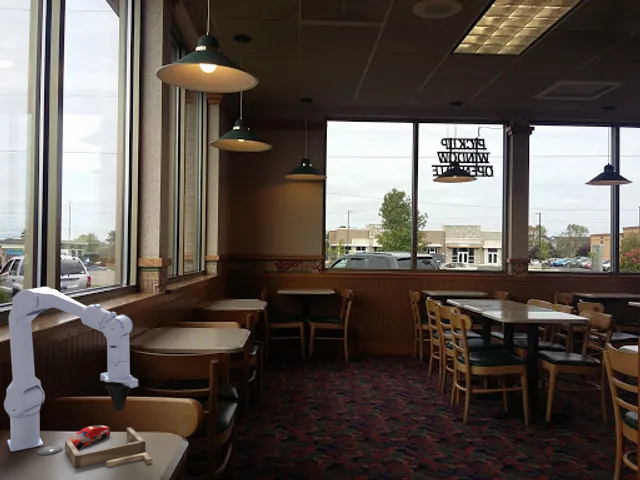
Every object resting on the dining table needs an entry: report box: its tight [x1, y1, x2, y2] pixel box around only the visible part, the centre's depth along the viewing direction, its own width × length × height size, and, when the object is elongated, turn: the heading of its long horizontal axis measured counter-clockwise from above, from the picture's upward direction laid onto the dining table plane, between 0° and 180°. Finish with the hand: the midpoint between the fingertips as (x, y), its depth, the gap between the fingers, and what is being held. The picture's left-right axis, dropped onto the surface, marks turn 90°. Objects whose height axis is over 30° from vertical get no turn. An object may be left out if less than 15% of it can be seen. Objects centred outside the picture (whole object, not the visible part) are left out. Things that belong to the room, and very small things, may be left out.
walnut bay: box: [64, 426, 146, 469], centre depth 150 cm, size 14×17×3 cm
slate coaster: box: [37, 445, 64, 456], centre depth 151 cm, size 6×6×1 cm
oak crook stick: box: [105, 451, 153, 468], centre depth 142 cm, size 10×5×1 cm, turn 123°
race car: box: [64, 425, 111, 450], centre depth 158 cm, size 13×5×4 cm, turn 148°
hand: (119, 409), depth 153 cm, fingers closed
